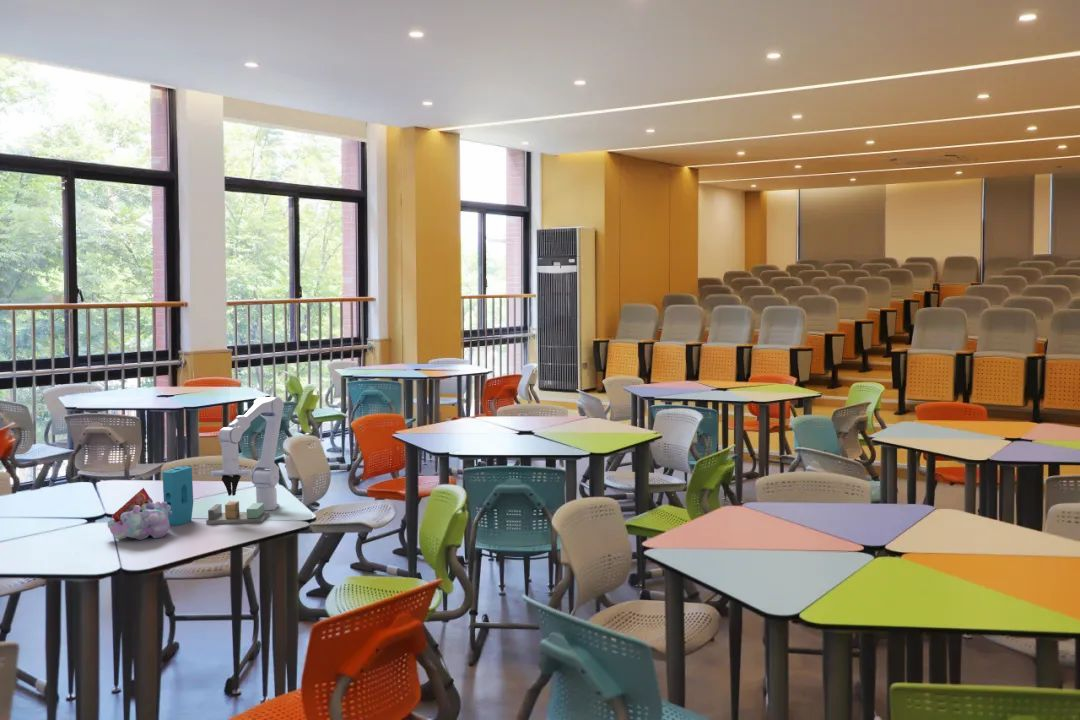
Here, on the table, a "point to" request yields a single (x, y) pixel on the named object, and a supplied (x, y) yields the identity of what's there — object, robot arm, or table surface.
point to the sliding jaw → (255, 510)
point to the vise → (219, 518)
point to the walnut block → (232, 509)
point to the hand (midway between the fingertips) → (231, 495)
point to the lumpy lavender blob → (140, 518)
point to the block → (178, 494)
